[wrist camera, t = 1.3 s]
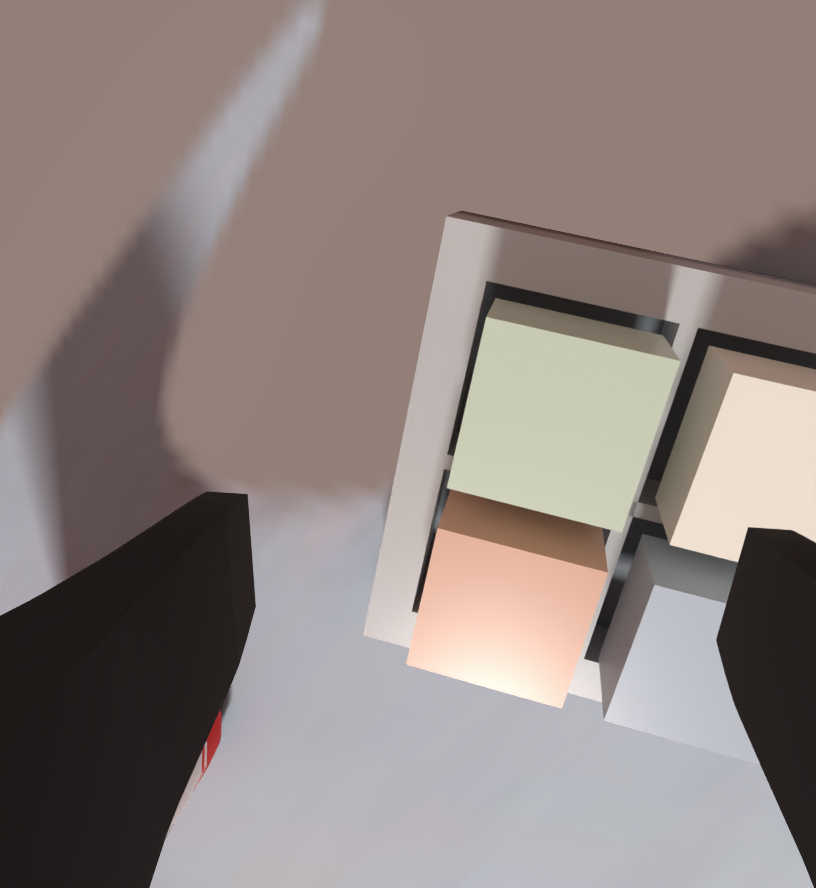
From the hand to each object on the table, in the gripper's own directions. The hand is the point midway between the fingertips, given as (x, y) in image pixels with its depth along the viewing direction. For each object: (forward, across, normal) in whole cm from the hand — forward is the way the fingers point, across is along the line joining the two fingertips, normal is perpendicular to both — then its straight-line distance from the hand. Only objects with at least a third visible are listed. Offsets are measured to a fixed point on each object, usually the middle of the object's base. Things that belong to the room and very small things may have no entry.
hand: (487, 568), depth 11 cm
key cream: (+6, -7, +1) cm, 9 cm away
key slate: (+6, -6, +5) cm, 10 cm away
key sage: (+7, -2, 0) cm, 7 cm away
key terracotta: (+7, -1, +5) cm, 8 cm away
